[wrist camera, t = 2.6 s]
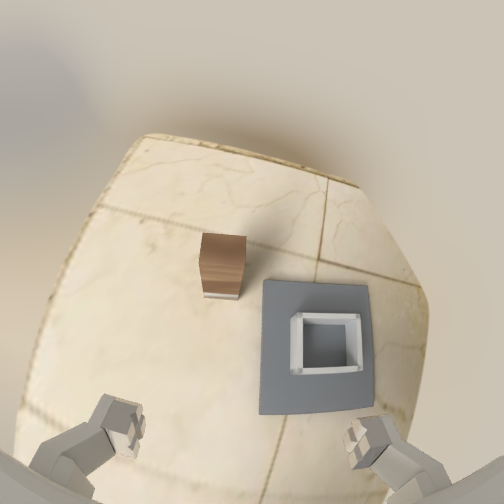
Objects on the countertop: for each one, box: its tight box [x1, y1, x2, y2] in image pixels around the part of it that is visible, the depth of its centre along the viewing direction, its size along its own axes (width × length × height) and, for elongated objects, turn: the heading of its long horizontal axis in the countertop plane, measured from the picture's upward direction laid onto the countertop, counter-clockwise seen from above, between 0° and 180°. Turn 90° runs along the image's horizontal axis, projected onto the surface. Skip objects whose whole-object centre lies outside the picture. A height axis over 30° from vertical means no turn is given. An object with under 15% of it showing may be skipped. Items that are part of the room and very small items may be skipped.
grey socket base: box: [259, 280, 374, 415], centre depth 29 cm, size 16×14×4 cm
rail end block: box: [199, 233, 247, 300], centre depth 29 cm, size 3×4×10 cm
